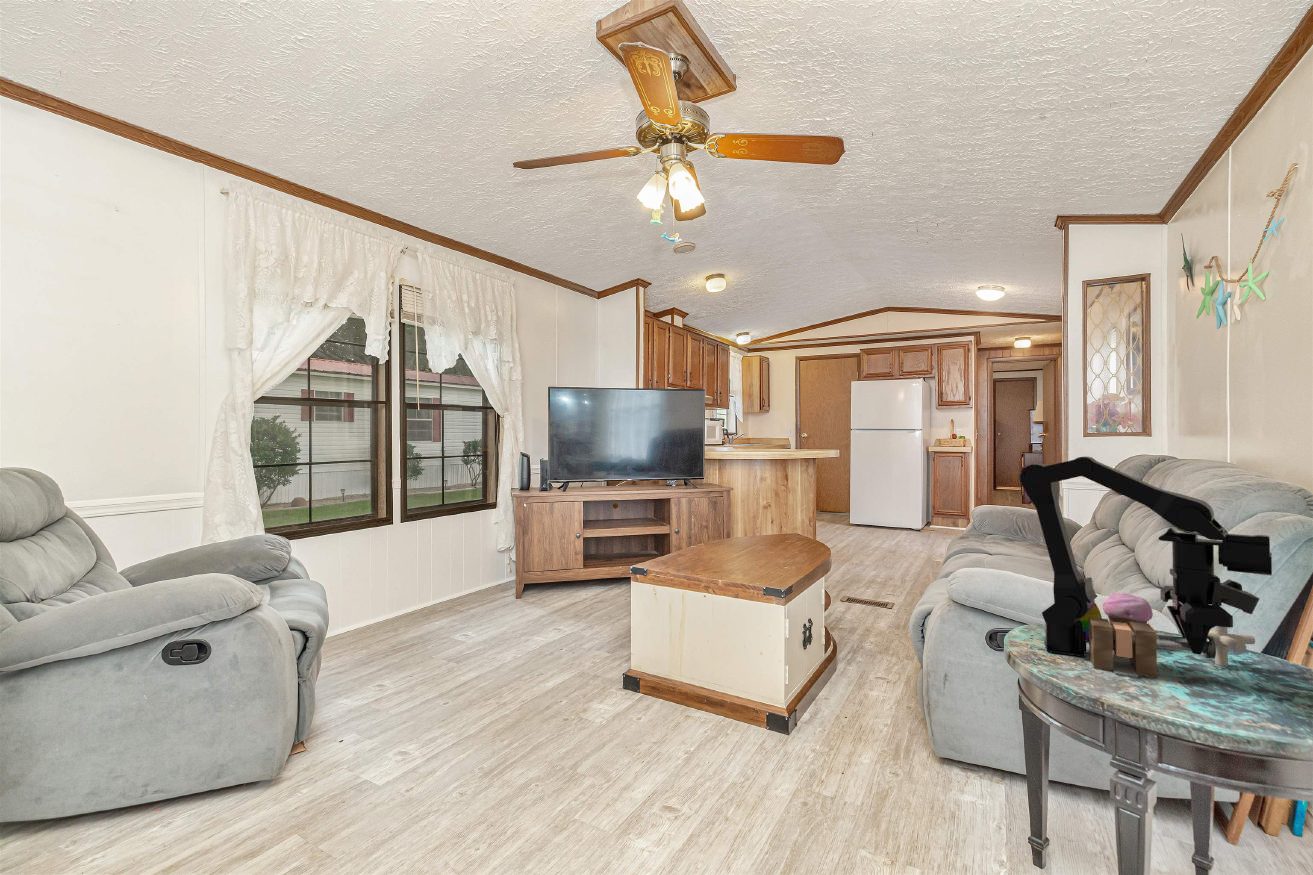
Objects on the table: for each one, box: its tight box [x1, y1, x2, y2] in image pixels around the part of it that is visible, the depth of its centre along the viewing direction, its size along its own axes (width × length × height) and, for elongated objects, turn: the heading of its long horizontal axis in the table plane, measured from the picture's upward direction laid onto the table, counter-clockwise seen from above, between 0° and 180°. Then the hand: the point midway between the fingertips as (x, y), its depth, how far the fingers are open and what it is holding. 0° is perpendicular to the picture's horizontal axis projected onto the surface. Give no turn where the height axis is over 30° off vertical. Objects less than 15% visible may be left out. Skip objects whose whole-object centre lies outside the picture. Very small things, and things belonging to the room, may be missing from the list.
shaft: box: [1113, 629, 1216, 660], centre depth 113 cm, size 17×4×4 cm, turn 61°
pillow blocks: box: [1088, 617, 1158, 678], centre depth 115 cm, size 10×6×8 cm, turn 61°
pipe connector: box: [1208, 626, 1256, 667], centre depth 116 cm, size 10×10×10 cm
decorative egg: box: [1079, 602, 1103, 642], centre depth 133 cm, size 8×8×10 cm
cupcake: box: [1102, 592, 1154, 626], centre depth 131 cm, size 9×9×10 cm
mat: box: [1112, 656, 1139, 679], centre depth 115 cm, size 3×10×1 cm, turn 151°
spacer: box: [1111, 622, 1132, 659], centre depth 115 cm, size 2×5×5 cm, turn 151°
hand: (1194, 651), depth 110 cm, fingers closed on shaft, 2 cm apart
